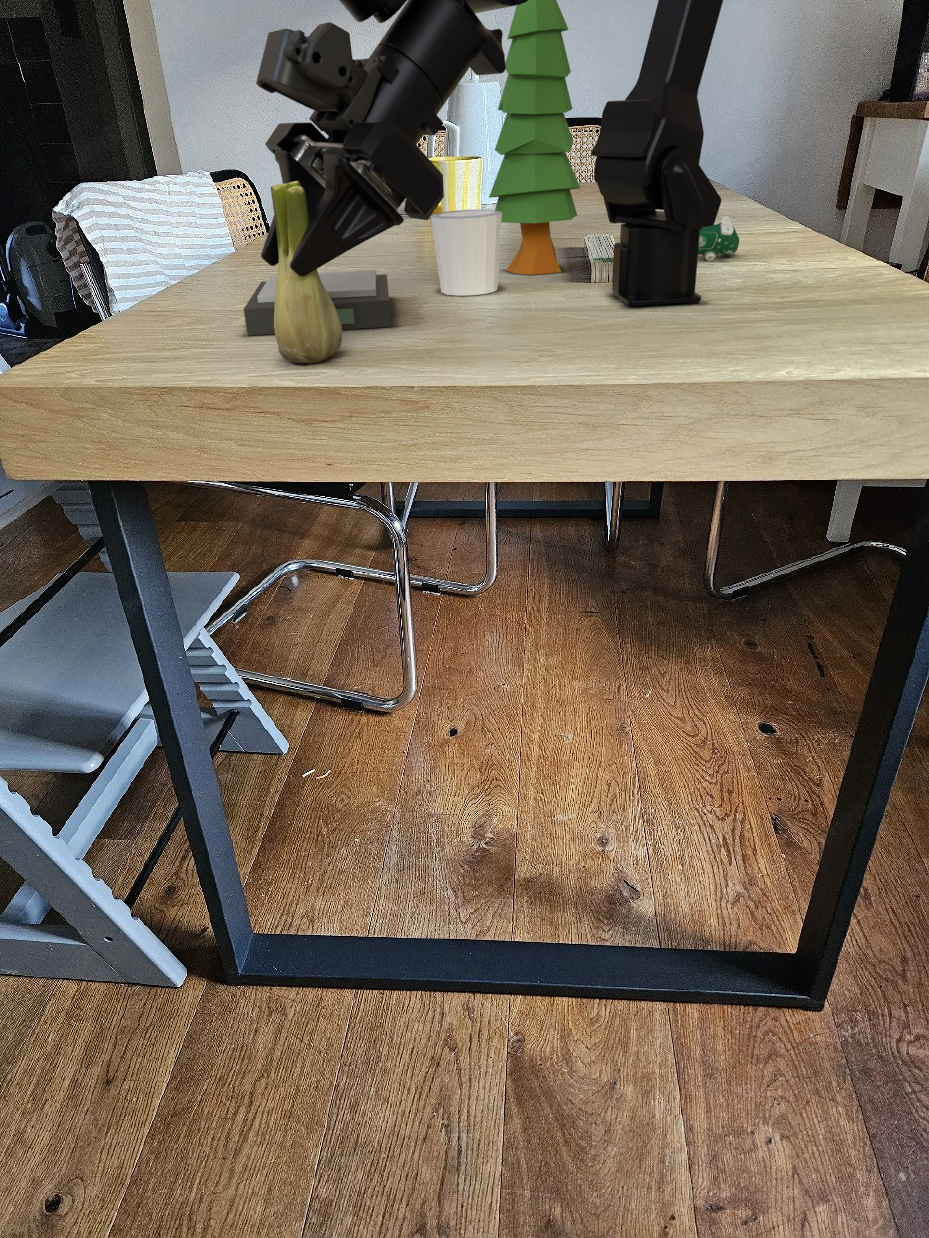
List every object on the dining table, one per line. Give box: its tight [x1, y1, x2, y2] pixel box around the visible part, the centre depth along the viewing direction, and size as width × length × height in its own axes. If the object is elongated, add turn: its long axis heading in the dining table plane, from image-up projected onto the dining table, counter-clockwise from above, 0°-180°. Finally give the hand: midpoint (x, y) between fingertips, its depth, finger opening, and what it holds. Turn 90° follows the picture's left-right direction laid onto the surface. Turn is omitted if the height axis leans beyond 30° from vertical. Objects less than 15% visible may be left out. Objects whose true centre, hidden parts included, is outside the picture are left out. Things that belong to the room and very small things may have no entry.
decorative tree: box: [488, 0, 581, 276], centre depth 89 cm, size 10×9×30 cm
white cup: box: [430, 209, 502, 297], centre depth 86 cm, size 7×7×7 cm
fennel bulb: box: [270, 181, 343, 364], centre depth 63 cm, size 6×5×12 cm
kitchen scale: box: [243, 269, 392, 337], centre depth 79 cm, size 12×13×3 cm
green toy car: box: [698, 215, 740, 262], centre depth 97 cm, size 9×4×6 cm
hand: (280, 266), depth 63 cm, fingers closed on fennel bulb, 6 cm apart
